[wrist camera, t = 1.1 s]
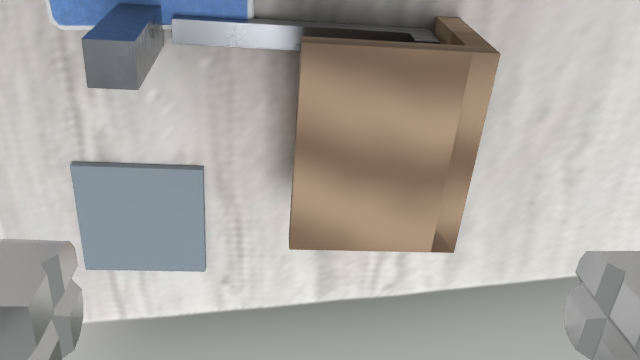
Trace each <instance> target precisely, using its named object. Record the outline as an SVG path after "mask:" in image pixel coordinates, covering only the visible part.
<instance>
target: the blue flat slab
mask: <svg viewBox="0 0 640 360" xmlns="http://www.w3.org/2000/svg"><path fill="white" fill-rule="evenodd" d="M45 3H46V8H47V13H48V16H49V19H50V21H51V22H52V23H53V24H54V25H55V26H56V27H58V28H59V29H62V30H91V29H92V28H93V27H94V26H95V25H96V24H97V23H98V22H99V21H100V20H101V19H103V18H104V17H105V16H106V15H107V14H108V13H109V12H110V11H111V10H112V9H113V8H114V7H115V6H116V5H117V4H118V3H129V4H145V5H161V13H162V27H163V30H167V29H172V17H173V16H174V15H188V16H205V17H221V18H237V19H253V18H254V14H255V7H254V0H45Z"/></svg>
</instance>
